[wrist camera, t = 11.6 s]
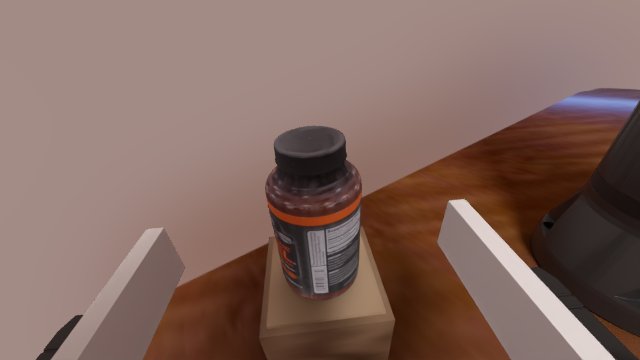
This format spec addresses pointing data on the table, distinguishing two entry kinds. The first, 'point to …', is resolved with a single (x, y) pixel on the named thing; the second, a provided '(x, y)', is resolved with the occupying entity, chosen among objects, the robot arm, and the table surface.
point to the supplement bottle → (315, 211)
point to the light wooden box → (326, 316)
